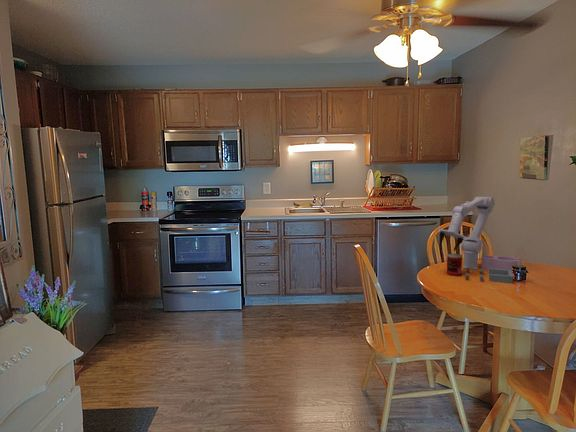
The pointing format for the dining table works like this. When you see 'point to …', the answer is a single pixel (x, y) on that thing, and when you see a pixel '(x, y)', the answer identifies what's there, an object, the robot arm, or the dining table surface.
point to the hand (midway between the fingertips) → (447, 248)
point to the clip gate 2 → (481, 275)
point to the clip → (499, 262)
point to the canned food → (454, 264)
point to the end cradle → (500, 275)
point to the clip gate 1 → (467, 272)
